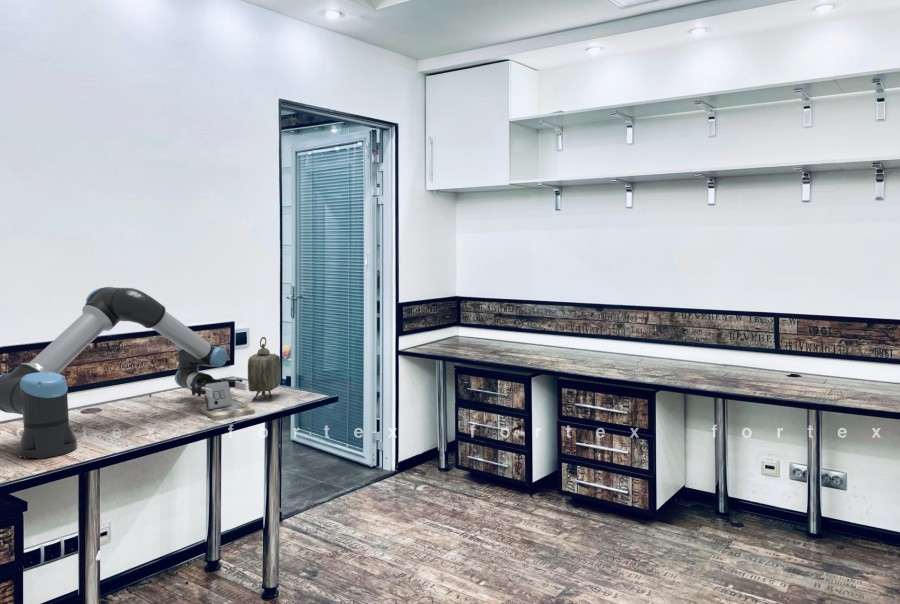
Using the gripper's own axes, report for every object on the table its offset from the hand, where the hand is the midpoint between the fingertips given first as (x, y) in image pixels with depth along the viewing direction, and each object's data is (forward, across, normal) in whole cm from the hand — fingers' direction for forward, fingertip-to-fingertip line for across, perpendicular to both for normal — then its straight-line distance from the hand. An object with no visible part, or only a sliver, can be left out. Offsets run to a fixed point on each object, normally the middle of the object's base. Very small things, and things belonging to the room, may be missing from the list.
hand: (228, 390), depth 240 cm
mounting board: (-3, 0, -8) cm, 9 cm away
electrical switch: (-4, +2, -7) cm, 8 cm away
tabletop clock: (-10, -21, -9) cm, 25 cm away
